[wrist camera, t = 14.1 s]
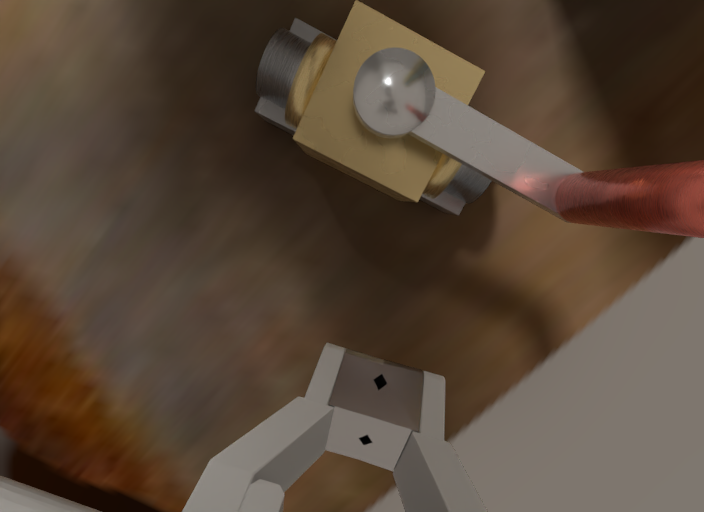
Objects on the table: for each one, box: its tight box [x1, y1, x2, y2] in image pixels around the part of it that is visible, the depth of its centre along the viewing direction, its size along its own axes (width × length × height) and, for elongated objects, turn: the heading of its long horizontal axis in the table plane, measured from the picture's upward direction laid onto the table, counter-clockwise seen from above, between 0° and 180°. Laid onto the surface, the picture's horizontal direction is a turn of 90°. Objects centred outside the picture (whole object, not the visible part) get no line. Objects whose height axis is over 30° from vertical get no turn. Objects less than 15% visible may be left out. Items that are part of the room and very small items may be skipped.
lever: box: [353, 47, 704, 238], centre depth 14 cm, size 14×4×11 cm, turn 62°
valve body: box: [255, 0, 491, 215], centre depth 24 cm, size 16×8×9 cm, turn 64°
